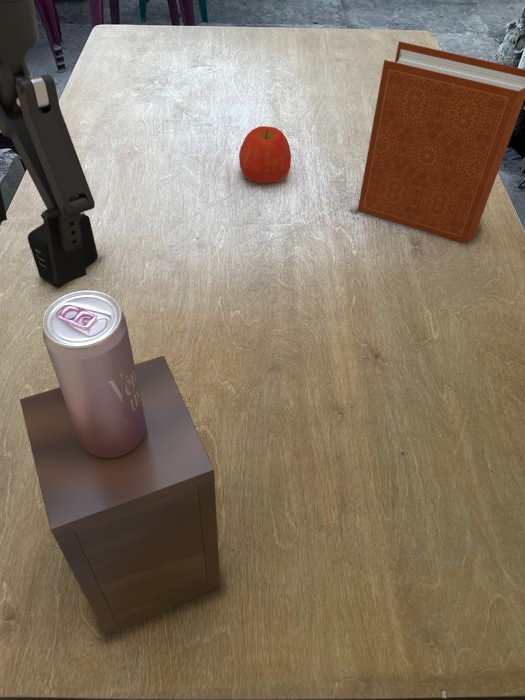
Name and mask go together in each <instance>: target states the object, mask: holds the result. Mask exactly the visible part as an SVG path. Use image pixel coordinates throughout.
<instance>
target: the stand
mask: <svg viewBox="0 0 525 700" xmlns="http://www.w3.org/2000/svg"><path fill="white" fill-rule="evenodd" d="M134 364H135V369H136V374H137V379H138V384H139V389H140V394H141V400H142V405H143V410H144V415H145V420H146V430H145V434H144V436H143V438H142V440H141V441H140V443H139V444H138V445H137V446H136V447H135V448H134V449H132V450H131V451H130V452H128V453H126V454H124V455H121V456H118V457H113V458H105V457H99V456H96V455H93V454H91V453H89V452H88V451H86V450H85V449H84V448H83V447H82V445H81V444H80V442H79V439H78V436H77V433H76V430H75V428H74V425H73V422H72V419H71V416H70V413H69V411H68V408H67V405H66V402H65V399H64V396H63V394H62V391H61V388H60V386H58V387H56V388H52V389H48V390H46V391H42V392H39V393H36V394H32V395H30V396H29V395H28V396H25V397H22V398H20V399H19V403H20V407H21V412H22V415H23V420H24V424H25V429H26V432H27V437H28V442H29V446H30V450H31V453H32V457H33V463H34V466H35V470H36V474H37V479H38V484H39V488H40V491H41V496H42V500H43V505H44V508H45V513H46V517H47V521H48V525H49V530H50V532H51V533H52V536H53V537H54V539H55V542H56V543H57V545H58V548H59V549H60V551H61V553H62V555H63V557H64V559H65V561H66V562H67V565H68V567H69V568H70V570H71V573H72V574H73V576H74V578H75V580H76V582H77V584H78V585H79V587H80V590H81V591H82V594H83V595H84V597H85V599H86V601H87V603H88V605H89V607H90V609H91V611H92V613H93V615H94V616H95V618H96V620H97V622H98V625H99V626H100V628H101V630H102V632H103V634H104V635H105V637H108V636H111V635H114V634H115V633H118V632H120V631H122V630H125V629H127V628H130V627H132V626H134V625H136V624H139V623H141V622H143V621H146V620H149V619H150V618H153V617H156V616H157V615H160V614H162V613H164V612H168V611H169V610H172V609H174V608H176V607H177V608H178V607H179V606H181V605H184V604H186V603H188V602H190V601H193V600H195V599H197V598H200V597H202V596H205V595H207V594H209V593H212V592H214V591H216V590H218V589H220V588H221V574H220V573H221V572H220V553H219V552H220V551H219V536H218V517H217V516H218V515H217V498H216V482H215V481H216V480H215V469H214V466H213V464H212V461H211V460H210V457H209V455H208V452H207V450H206V448H205V446H204V444H203V441H202V439H201V437H200V435H199V432H198V431H197V430H198V429H197V428H196V424H195V423H194V421H193V419H192V416H191V414H190V412H189V410H188V407H187V404H186V402H185V401H184V398H183V396H182V394H181V391H180V389H179V387H178V385H177V382H176V381H175V377H174V376H173V373H172V371H171V369H170V366H169V364H168V362H167V359H166V358H165V355H161V356H158V357H155V358H150V359H148V360H144V361H141V362H138V363H134Z"/></svg>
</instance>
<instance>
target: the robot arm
mask: <svg viewBox="0 0 525 700" xmlns="http://www.w3.org/2000/svg"><path fill="white" fill-rule="evenodd" d="M39 33H40V32H39V27H38V20H37V14H36V7H35V2H34V0H0V133H1V134H2V135H3V137H5V138H8V139H10V140H11V141H12V143H13V145H14V147H15V149H16V151H17V153H18V155H19V157H20V160H21V161H22V162H23V165H24V166H25V169H26V171H27V172H28V175H29V177H30V178H31V180H32V183H33V185H34V186H35V188H36V191H37V192H38V194H39V196H40V198H41V200H42V202H43V204H44V206H45V208H46V209H44V211H42V212H41V214H40V217H41V218H42V221H43V224H44V227H45V232H46V238H47V243H48V249H49V254H50V260H51V265H52V271H53V276H54V282H55V283H56V284H58V285H59V286H60V285H62V284H64V285H66V284H67V283H70V282H72V281H75V280H77V279H79V278H82V277H84V276H86V275H87V268H86V267H85V260H84V253H83V246H82V237H81V232H80V231H81V230H80V223H79V213H82V212H84V213H85V212H87V211H91V210H93V209H95V206H96V204H95V200H94V196H93V194H92V192H91V188H90V186H89V183H88V179H87V178H86V175H85V172H84V170H83V167H82V164H81V162H80V159H79V156H78V153H77V150H76V148H75V145H74V143H73V139H72V137H71V134H70V132H69V129H68V126H67V123H66V120H65V118H64V115H63V112H62V110H61V106H60V101H59V97H58V91H57V85H56V82H55V79H54V77H53V76H52V75H51V74H43V75H37V76H32V75H31V73H30V71H29V68H28V64H27V61H26V54H27V52H28V51H29V50H30V49H33V48H34V47H36V45H37V44H38V43H39V41H40V34H39ZM4 221H8V217H7V212H6V207H5V203H4V198H3V193H2V188H0V223H1V222H4Z"/></svg>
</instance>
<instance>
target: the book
mask: <svg viewBox="0 0 525 700" xmlns="http://www.w3.org/2000/svg"><path fill="white" fill-rule="evenodd" d="M381 70H382V71H381V76H380V82H379V88H378V93H377V99H376V104H375V110H374V114H373V115H374V116H373V122H372V125H371V126H372V127H371V133H370V138H369V143H368V149H367V155H366V156H367V157H366V161H365V167H364V173H363V177H362V183H361V189H360V194H359V200H358V207H357V212H360V213H363V214H367V215H370V216H373V217H377V218H380V219H383V220H385V221H386V220H387V221H389V222H392V223H396V224H399V225H403V226H406V227H409V228H413V229H416V230H419V231H423V232H426V233H429V234H432V235H434V236H435V235H436V236H439V237H442V238H445V239H449V240H452V241H455V242H458V243H463V244H467V243H468V242H470V241H471V240H473V238H474V237H475V236H476V233H477V231H478V228H479V225H480V222H481V221H482V220H481V219H482V217H483V214H484V212H485V209H486V206H487V203H488V201H489V198H490V196H491V195H490V194H491V192H492V189H493V187H494V184H495V181H496V179H497V176H498V172H499V170H500V167H501V165H502V162H503V160H504V156H505V154H506V151H507V148H508V146H509V142H510V141H511V137H512V134H513V132H514V129H515V126H516V124H517V121H518V118H519V115H520V112H521V110H522V107H523V104H524V101H525V68H520V67H516V66H511V65H507V64H502V63H498V62H494V61H489V60H485V59H480V58H475V57H472V56H468V55H467V56H466V55H463V54H458V53H453V52H449V51H444V50H440V49H435V48H431V47H426V46H422V45H418V44H413V43H408V42H405V41H400V40H399V41H398V43H397V49H396V54H395V60H394V61H393V60H387V59H384V60H383V65H382V69H381Z"/></svg>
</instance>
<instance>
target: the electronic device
mask: <svg viewBox="0 0 525 700" xmlns="http://www.w3.org/2000/svg"><path fill="white" fill-rule="evenodd" d="M79 223H80V230H81V231H80V232H81V237H82V246H83V253H84V260H85V267H86V269H87V268H88V267H90V266H91V265H93V264H94V263H95V262H96V261H97V260H98V256H99V255H98V251H97V246H96V242H95V241H96V240H95V236H94V232H93V228H92V224H91V223H92V222H91V219H90V216H89V215H87V214H85V212H82V213H79ZM27 241H28V244H29V248H30V251H31V254H32V257H33V260H34V264H35V266H36V269H37V272H38V275H39V278H40V279H42V280H44V281H46V282H47V283H49V284H50V285H52V286H54V287H56V288H61V287H63V286H64V285H65V284H62V285H60V286H59V285H58V284H56V283H55V282H54V276H53V271H52V265H51V260H50V254H49V249H48V243H47V238H46V232H45V227H44V223H42V224H40V225H39V226H38V227H36V228H34V229H32V231H30V232H29V233H28V235H27Z"/></svg>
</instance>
